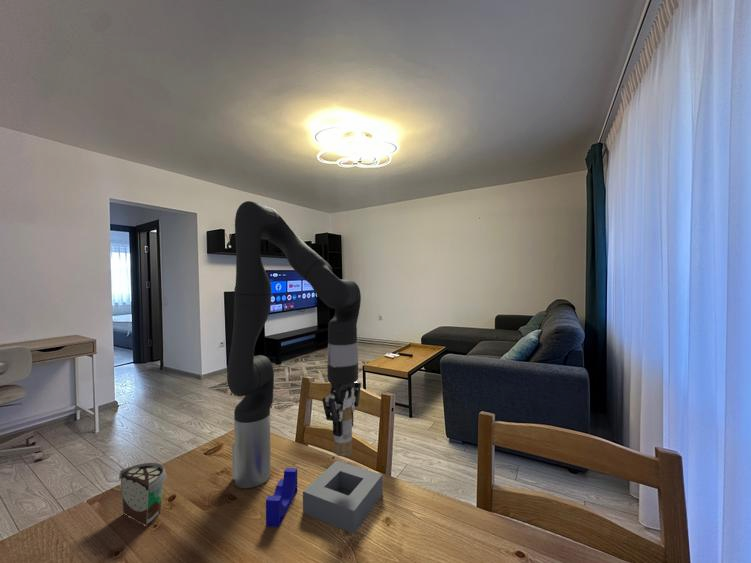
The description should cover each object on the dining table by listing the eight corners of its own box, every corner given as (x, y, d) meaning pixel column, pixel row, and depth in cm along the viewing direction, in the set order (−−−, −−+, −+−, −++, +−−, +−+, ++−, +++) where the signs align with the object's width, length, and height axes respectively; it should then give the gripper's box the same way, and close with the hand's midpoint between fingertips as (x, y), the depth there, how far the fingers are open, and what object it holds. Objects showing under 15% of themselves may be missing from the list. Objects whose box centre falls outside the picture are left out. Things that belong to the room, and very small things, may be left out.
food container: (178, 510, 74) (178, 468, 74) (150, 529, 68) (150, 484, 68) (147, 496, 79) (147, 456, 79) (119, 512, 73) (119, 470, 73)
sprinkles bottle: (349, 445, 79) (349, 392, 79) (354, 455, 74) (354, 399, 75) (332, 449, 77) (331, 395, 77) (335, 459, 73) (335, 401, 73)
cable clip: (280, 490, 81) (280, 467, 81) (297, 491, 81) (297, 468, 81) (259, 526, 69) (259, 499, 69) (279, 528, 69) (278, 500, 69)
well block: (302, 512, 73) (302, 491, 73) (336, 478, 85) (336, 460, 85) (354, 534, 66) (354, 510, 66) (382, 494, 79) (382, 474, 79)
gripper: (345, 353, 84) (346, 416, 84) (311, 366, 71) (312, 441, 71) (370, 356, 81) (370, 422, 81) (339, 370, 68) (340, 448, 68)
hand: (343, 430), depth 76 cm, fingers closed on sprinkles bottle, 4 cm apart
